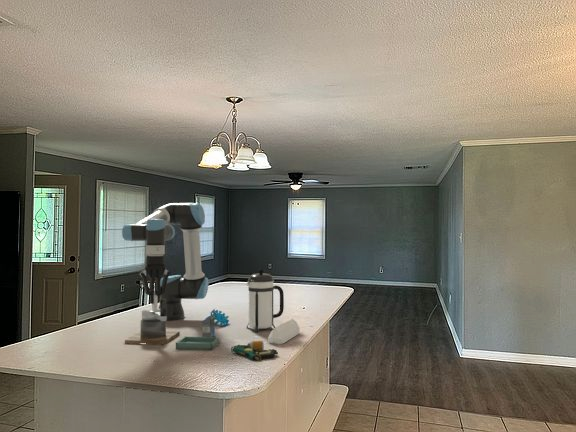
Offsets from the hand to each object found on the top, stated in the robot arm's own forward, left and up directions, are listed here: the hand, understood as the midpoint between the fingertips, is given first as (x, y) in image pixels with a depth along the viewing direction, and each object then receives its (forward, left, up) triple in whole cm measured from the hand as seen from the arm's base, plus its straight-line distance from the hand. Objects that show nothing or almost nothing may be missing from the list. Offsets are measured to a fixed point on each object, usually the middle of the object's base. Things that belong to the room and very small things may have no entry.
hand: (154, 311), depth 184 cm
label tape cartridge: (-19, +18, -15) cm, 30 cm away
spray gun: (+6, +44, -16) cm, 47 cm away
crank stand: (-13, -6, -15) cm, 21 cm away
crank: (-9, -3, -6) cm, 11 cm away
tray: (-4, +18, -15) cm, 24 cm away
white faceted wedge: (-21, +53, -16) cm, 59 cm away
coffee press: (-38, +40, -15) cm, 57 cm away
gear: (-43, +17, -15) cm, 49 cm away
